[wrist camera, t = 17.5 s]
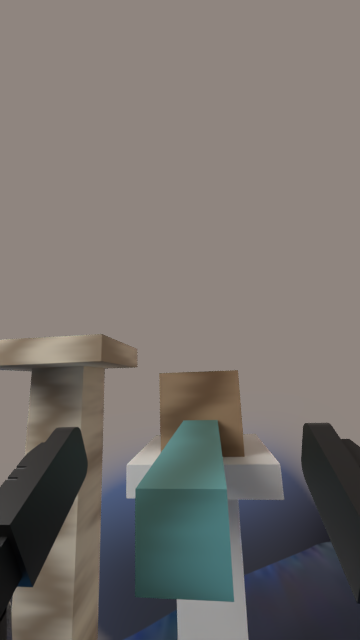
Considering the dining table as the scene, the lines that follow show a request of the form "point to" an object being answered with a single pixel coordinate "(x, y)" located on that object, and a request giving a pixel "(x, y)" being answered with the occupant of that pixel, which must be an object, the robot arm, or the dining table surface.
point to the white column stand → (242, 483)
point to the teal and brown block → (189, 491)
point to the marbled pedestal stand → (85, 514)
